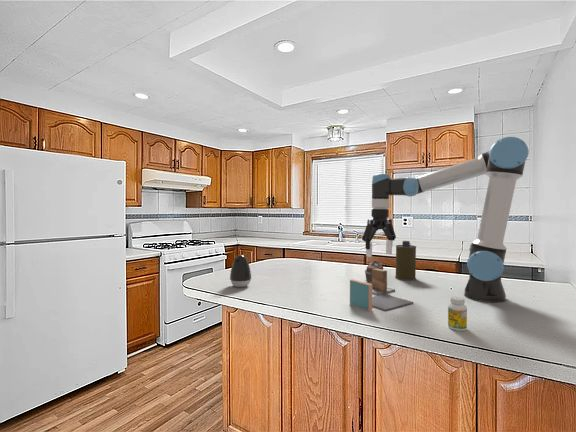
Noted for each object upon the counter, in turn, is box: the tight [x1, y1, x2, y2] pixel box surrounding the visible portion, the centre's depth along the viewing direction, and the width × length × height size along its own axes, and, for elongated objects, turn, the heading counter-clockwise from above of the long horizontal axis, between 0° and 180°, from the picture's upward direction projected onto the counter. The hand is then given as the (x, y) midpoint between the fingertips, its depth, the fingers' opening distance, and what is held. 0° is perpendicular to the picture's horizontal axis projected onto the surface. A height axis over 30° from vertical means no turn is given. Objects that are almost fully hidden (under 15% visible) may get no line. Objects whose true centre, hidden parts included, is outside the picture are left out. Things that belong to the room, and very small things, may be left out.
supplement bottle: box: [447, 296, 468, 332], centre depth 106 cm, size 5×5×10 cm
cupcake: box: [364, 260, 384, 283], centre depth 172 cm, size 10×10×10 cm
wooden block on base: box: [371, 269, 396, 296], centre depth 150 cm, size 12×8×10 cm, turn 125°
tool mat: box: [372, 293, 414, 312], centre depth 133 cm, size 14×17×1 cm
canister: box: [394, 240, 417, 281], centre depth 177 cm, size 11×10×20 cm
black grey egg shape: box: [229, 254, 252, 288], centre depth 159 cm, size 10×10×15 cm
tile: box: [349, 278, 373, 312], centre depth 126 cm, size 10×2×10 cm, turn 35°
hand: (379, 255), depth 150 cm, fingers open, 13 cm apart
